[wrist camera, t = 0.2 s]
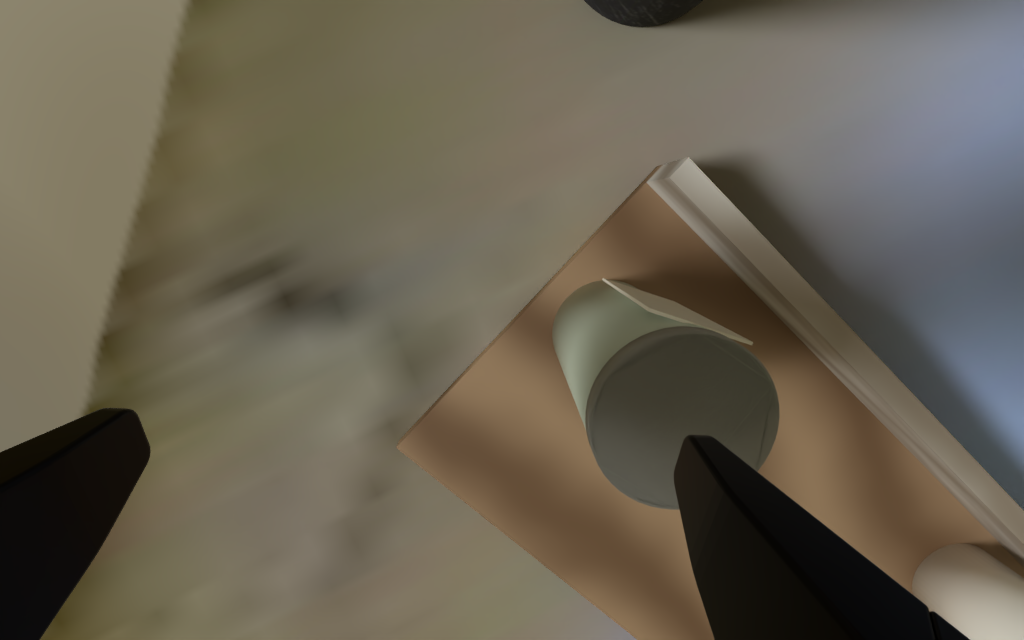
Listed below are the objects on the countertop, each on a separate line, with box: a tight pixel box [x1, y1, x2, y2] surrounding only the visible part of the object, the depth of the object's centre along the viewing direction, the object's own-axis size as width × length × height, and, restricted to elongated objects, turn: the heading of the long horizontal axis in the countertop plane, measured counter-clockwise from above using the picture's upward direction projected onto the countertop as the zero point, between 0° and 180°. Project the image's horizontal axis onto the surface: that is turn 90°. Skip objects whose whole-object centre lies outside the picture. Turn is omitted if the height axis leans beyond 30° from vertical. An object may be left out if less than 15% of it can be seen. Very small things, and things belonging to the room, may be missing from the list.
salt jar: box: [912, 543, 1024, 640], centre depth 23 cm, size 5×5×7 cm
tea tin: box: [552, 278, 780, 510], centre depth 18 cm, size 5×5×10 cm
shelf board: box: [396, 157, 1024, 640], centre depth 24 cm, size 18×30×4 cm, turn 47°
